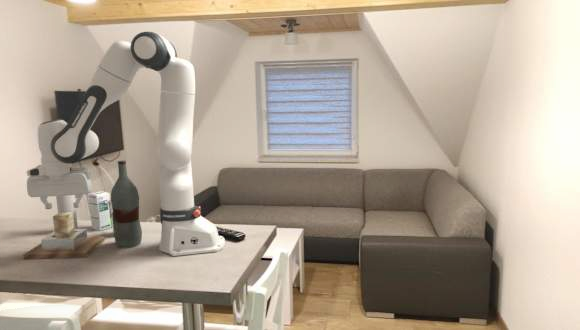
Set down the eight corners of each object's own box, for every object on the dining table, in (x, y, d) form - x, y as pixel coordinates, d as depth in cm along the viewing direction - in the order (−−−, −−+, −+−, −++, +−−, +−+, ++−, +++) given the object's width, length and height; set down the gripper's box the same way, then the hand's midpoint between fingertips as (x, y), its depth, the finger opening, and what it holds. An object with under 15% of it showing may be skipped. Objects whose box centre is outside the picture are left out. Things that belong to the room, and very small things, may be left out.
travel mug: (71, 233, 164) (65, 183, 161) (56, 232, 166) (50, 182, 162) (82, 228, 170) (77, 179, 167) (67, 227, 172) (62, 179, 168)
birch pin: (75, 242, 150) (72, 212, 148) (69, 247, 145) (66, 216, 143) (62, 242, 150) (59, 212, 148) (56, 247, 145) (52, 216, 143)
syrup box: (100, 231, 167) (96, 195, 164) (91, 228, 170) (87, 193, 167) (113, 227, 171) (109, 192, 169) (104, 225, 174) (100, 190, 172)
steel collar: (87, 239, 153) (86, 228, 152) (74, 250, 143) (73, 238, 142) (57, 240, 152) (56, 229, 152) (42, 251, 142) (41, 239, 141)
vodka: (110, 248, 147) (102, 163, 142) (121, 239, 156) (114, 159, 151) (137, 248, 147) (129, 163, 142) (146, 239, 156) (140, 158, 151)
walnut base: (104, 240, 156) (104, 236, 156) (85, 256, 140) (85, 252, 140) (48, 242, 155) (48, 238, 155) (23, 259, 139) (23, 254, 139)
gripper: (92, 165, 146) (97, 204, 149) (32, 168, 146) (37, 207, 148) (84, 168, 140) (90, 208, 143) (21, 171, 139) (27, 212, 142)
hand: (63, 208), depth 145 cm, fingers open, 8 cm apart
